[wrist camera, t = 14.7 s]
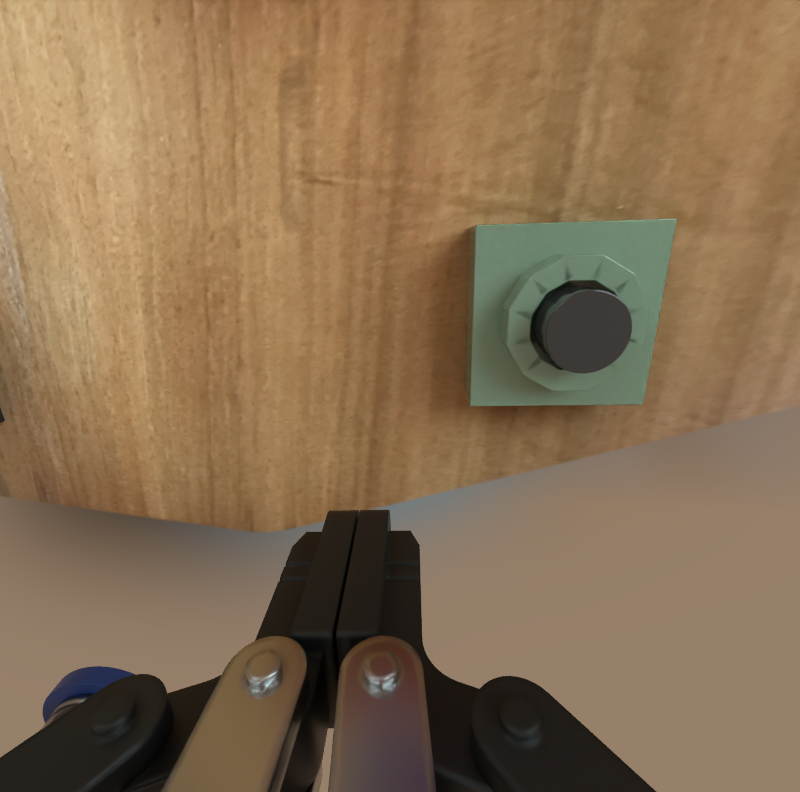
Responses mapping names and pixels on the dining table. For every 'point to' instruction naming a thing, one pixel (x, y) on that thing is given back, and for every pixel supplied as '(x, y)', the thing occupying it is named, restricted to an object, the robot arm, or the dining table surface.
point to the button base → (536, 282)
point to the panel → (1, 417)
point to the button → (583, 328)
